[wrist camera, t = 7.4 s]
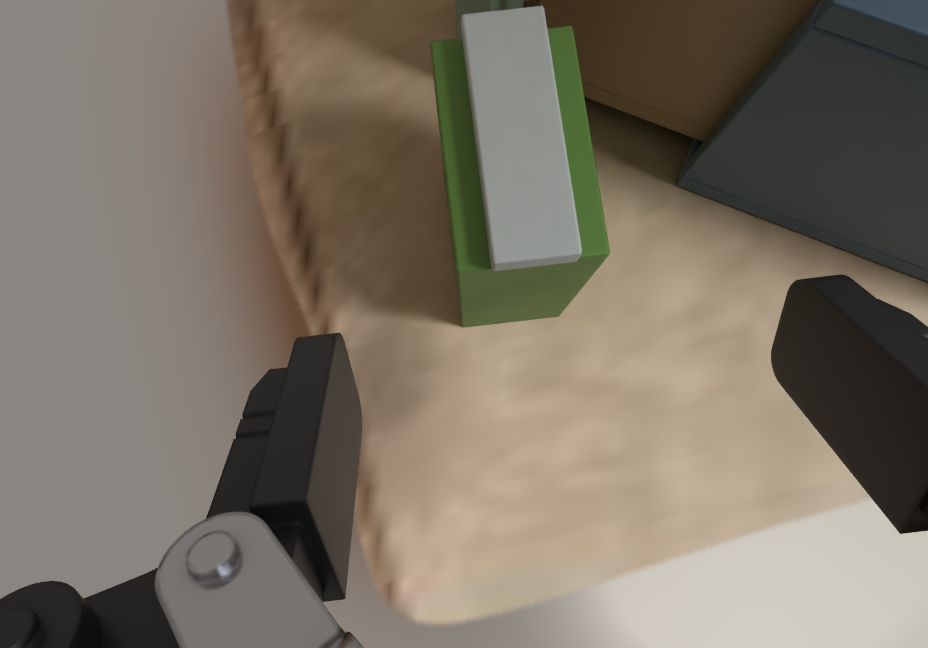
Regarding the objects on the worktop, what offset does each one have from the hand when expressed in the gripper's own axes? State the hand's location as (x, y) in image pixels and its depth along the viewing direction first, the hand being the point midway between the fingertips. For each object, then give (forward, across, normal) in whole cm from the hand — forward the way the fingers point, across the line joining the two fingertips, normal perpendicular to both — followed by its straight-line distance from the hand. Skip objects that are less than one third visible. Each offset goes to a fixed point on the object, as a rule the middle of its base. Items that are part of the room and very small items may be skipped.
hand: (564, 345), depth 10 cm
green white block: (+11, 0, +4) cm, 11 cm away
